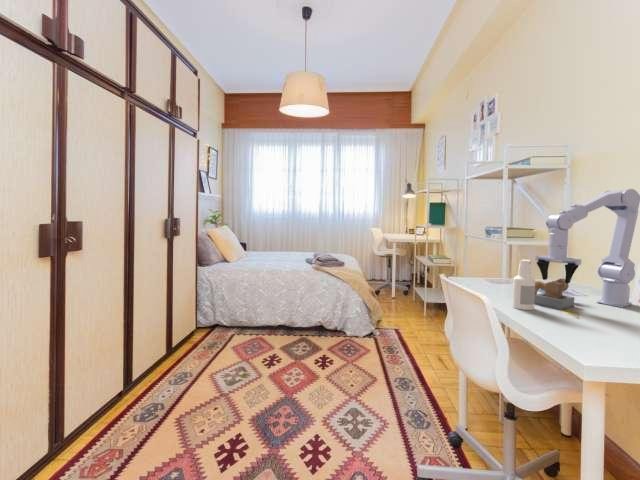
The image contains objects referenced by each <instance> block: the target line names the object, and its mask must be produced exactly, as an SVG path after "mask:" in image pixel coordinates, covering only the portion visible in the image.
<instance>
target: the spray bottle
mask: <svg viewBox="0 0 640 480" xmlns="http://www.w3.org/2000/svg"><path fill="white" fill-rule="evenodd" d="M531 262H532V261H531V260H530V259H520V260H519V264H518V272H517V275H516V276H514V277H513V282H512V283H513V284H512V285H513V286H512V302H511V303H512V305H511V306H512V307H513V308H514V309H517V310H522V311H532V310H534V309H535V304H534V296H535V281H536V279H535V278H534V277H532V265H531Z"/></svg>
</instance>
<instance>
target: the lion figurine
mask: <svg viewBox="0 0 640 480" xmlns="http://www.w3.org/2000/svg"><path fill="white" fill-rule="evenodd" d="M551 282H555V283H562V284H563V292H565V291H568V289H569V287H570V286H569V283H565V278H558V279H556V280H552V281H551ZM546 283H547V282H543V281H541V280H535V295H537V294H538V291H539V290H541V291H543V292H544V293H545V292H546Z"/></svg>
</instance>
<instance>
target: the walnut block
mask: <svg viewBox="0 0 640 480" xmlns="http://www.w3.org/2000/svg"><path fill="white" fill-rule="evenodd" d="M545 283H546V295H545V296H546V297H551V298H556V299H562V295H563V292H564V291H563V284H562V283H555V282H552V281H547V282H545Z"/></svg>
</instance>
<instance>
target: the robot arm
mask: <svg viewBox="0 0 640 480" xmlns="http://www.w3.org/2000/svg"><path fill="white" fill-rule="evenodd" d="M602 207H605V208H607V209H608V210H609V211H611V212H613V213H614V214H616V216H617V218H616V223H615V227H614V232H613V236H612V241H611V245H610V250H609V254H608V256H605V257H604V258H602V259H601V263H600V264H599V266H598V267H597V274H598V276H599V277H600V280H602V286H601V287H602V288H601V300H597V301H596V304H597V303H598V304H604V305H609V306H614V307H619V308H625V307H628V306H631V305H632V304H633V302H630V295H631V294H630V290H631V288H630V285H629V284H630V283H631V282H632V281H633V280H634V279H635V276H636V272H635V271H636V270H635V266H636V264H635V263H634V262H633V261H632V260H631V259H630V258H629V256H630V252H631V246H632V241H633V237H634V233H635V228H636V225H637V219H638V216H639V207H640V194H639V192H638V190H635V189H634V188H629V189H620V190H619V189H617V190H606V191H603V192H601V193H599V195H597V196H595V197H594V198H592V199H590V200H589V201H587V202H585V203H583V204H580V203H579V204H578V203H577V204H573V203H572V204H571V205H570V207H569V208H567V209H565V210H560V211H559V213H557V214H551V215H549V216H548V218H547V219H546V221H545V224H546V227H547V230H548V234H549V235H548V250H547V251H548V253H547V255H542V254H541V255H539V254H538V255H536V254H535V258H534V261H536V265H537V267H538V269H539V270H540V273H541V278H542V280H543V281H545V280H548V278H549V277H548V275H549V266H550V263H551V262H552V263H559V264H560V263H561V264H564V268H565V270H564V271H565V278H564V279H565V283H568V284H570V283H571V280H572V277H573V276H574V273H576V271H577V269H578V268H579V266H581V265H582V259H581V258H572V257H568V240H569V230H570V229H571V228H573V226H574V224H575V223H578V222H580V221H581V220H584V219H586V218H587V217H588V215H589V213H590V212H592V211H596V210H597V209H600V208H602Z"/></svg>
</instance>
